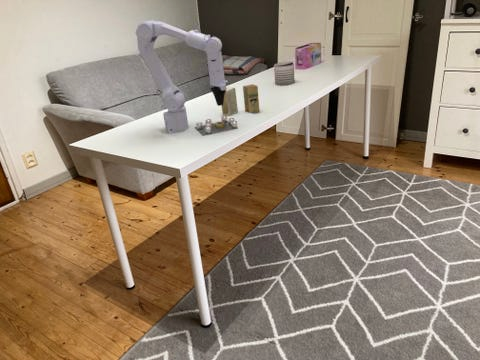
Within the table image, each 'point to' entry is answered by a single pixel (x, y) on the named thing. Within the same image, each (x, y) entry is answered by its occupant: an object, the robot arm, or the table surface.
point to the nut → (220, 125)
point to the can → (284, 73)
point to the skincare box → (230, 102)
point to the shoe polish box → (251, 99)
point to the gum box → (307, 55)
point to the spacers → (209, 124)
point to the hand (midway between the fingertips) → (220, 105)
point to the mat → (215, 129)
